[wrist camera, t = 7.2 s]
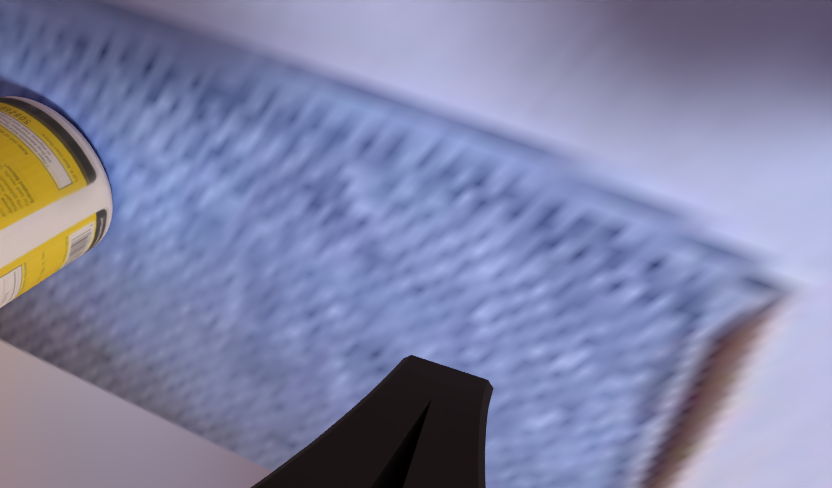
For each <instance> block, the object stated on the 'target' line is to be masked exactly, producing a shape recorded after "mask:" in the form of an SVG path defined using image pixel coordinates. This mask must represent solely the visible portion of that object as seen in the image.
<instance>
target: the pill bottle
mask: <svg viewBox="0 0 832 488" xmlns="http://www.w3.org/2000/svg"><path fill="white" fill-rule="evenodd" d="M112 211H113V202H112V193H111V188H110V184H109V181H108V178H107V175H106V173H105V170H104V168H103V166H102V164H101V162H100V160H99V158H98V156H97V155H96V153H95V151H94V150H93V148H92V147H91V145H90V144H89V143H88V141H87V140H86V139H85V138H84V136H83V135H82V134H81V133H80V132H79V131H78V130H77V129H76V128H75V127H74V126H73V125H72V124H71V123H70V122H69V121H68V120H66V119H65V118H64V117H63V116H61V115H60V114H59V113H57V112H56V111H54V110H53V109H51V108H49V107H48V106H46V105H43V104H41V103H39V102H37V101H34V100H31V99H27V98H23V97H16V96H6V97H0V308H1V307H2V306H4V305H5V304H7V303H8V302H10V301H11V300H13V299H15V298H16V297H18V296H19V295H21V294H22V293H24V292H26V291H27V290H29V289H30V288H32V287H33V286H35V285H36V284H38V283H39V282H41V281H42V280H44V279H46V278H47V277H49V276H50V275H52V274H53V273H55V272H56V271H58V270H59V269H61V268H63V267H64V266H66V265H67V264H69V263H70V262H72V261H73V260H75V259H77V258H78V257H80V256H81V255H83V254H84V253H86V252H87V251H89V250H90V249H91V248H93V247H94V246H95V245H96V244H98V243H99V242H100V241H101V240H102V238H103V237H104V235H105V234H106V232H107V230H108V228H109V226H110V222H111V219H112Z"/></svg>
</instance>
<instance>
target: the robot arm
mask: <svg viewBox="0 0 832 488" xmlns="http://www.w3.org/2000/svg"><path fill="white" fill-rule="evenodd" d="M492 391H493V387H492V386H491V384H490V382H489V381H488V380H486V379H483V378H480V377H477V376H474V375H471V374H468V373H465V372H462V371H459V370H456V369H453V368H450V367H447V366H444V365H440V364H437V363H434V362H431V361H428V360H425V359H422V358H419V357H416V356H413V355H410V356H408V357H406V358H403V360H402V361H401V362H400V363H399V364H398V365H397V366H396V367H395V368H394V369H393V370H392V371H391V372H390V373H389V374H388V375H387V376H386V377H385V378H384V379H383V380H382V381H381V382H380V383H379V384H378V385H377V386H376V387H375V388H374V389H373V390H372V391H371V392H370V393H369V394H368V395H367V396H366V397H364V398H363V399H362V400H361V401H360V402H359V403H358V404H357V405H356V406H355V407H353V408H352V409H351V410H350V411H349V412H348V413H346V414H345V415H344V416H343V417H342V418H341V419H339V420H338V421H337V422H336V423H335V424H333V425H332V426H331V427H330V428H329V429H328V430H326V431H325V432H324V433H323V434H322V435H320V436H319V437H318V438H317V439H316V440H314V441H313V442H312V443H311V444H309V445H308V446H307V447H305V448H304V449H303V450H301V451H300V452H299V453H297V454H296V455H295V456H293V457H292V458H291V459H289V460H288V461H287V462H285V463H284V464H283V465H281V466H280V467H279V468H277V469H276V470H275V471H273V472H272V473H271V474H269V475H268V476H267V477H265V478H264V479H262V480H261V481H260V482H258V483H257V484H255V485H254V486H252V487H251V488H486V487H485V438H486V423H487V414H488V408H489V403H490V399H491V395H492Z"/></svg>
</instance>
